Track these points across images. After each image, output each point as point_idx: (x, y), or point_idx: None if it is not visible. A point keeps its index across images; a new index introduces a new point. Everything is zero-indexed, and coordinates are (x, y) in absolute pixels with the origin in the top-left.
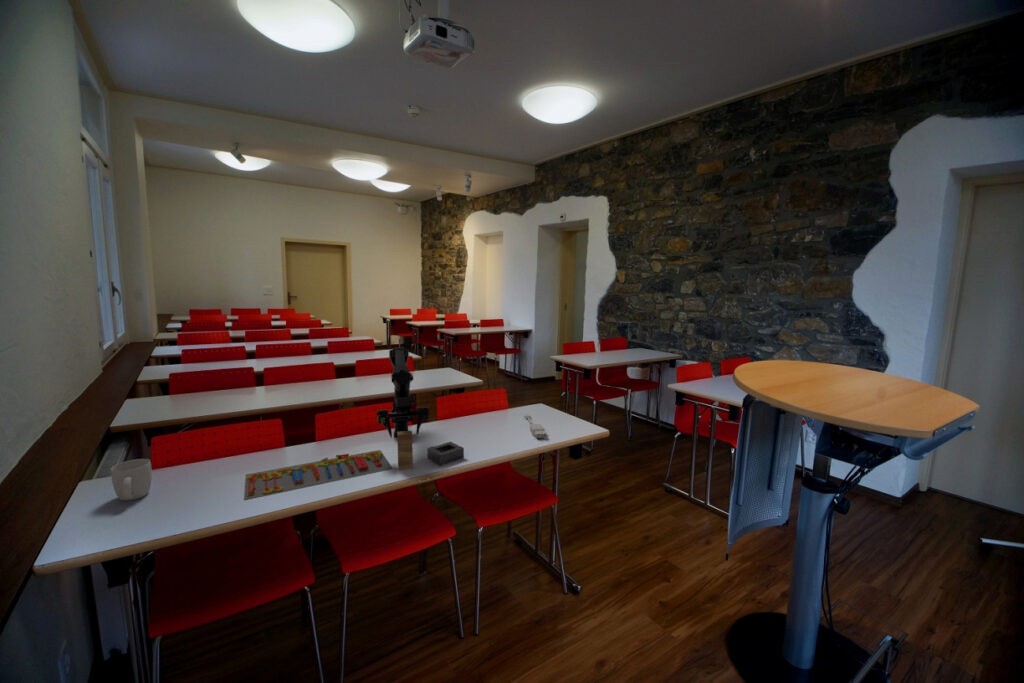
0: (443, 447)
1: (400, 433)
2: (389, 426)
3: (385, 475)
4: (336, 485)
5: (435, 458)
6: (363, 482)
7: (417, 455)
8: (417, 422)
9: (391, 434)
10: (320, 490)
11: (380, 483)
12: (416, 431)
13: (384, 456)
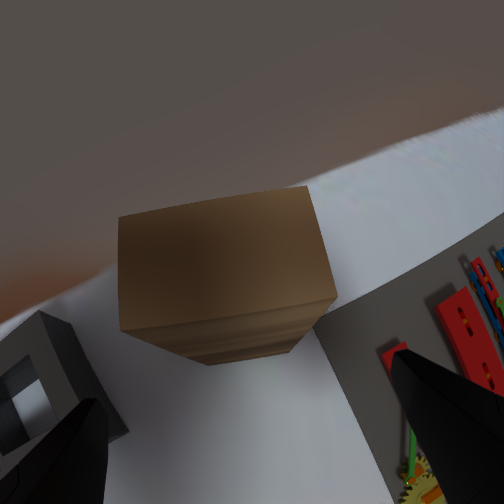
0: (27, 443)
1: (275, 224)
2: (486, 411)
3: (333, 248)
4: (473, 189)
5: (74, 358)
6: (401, 195)
7: (190, 488)
8: (25, 498)
9: (406, 359)
10: (491, 168)
11: (332, 179)
12: (97, 447)
13: (385, 480)
